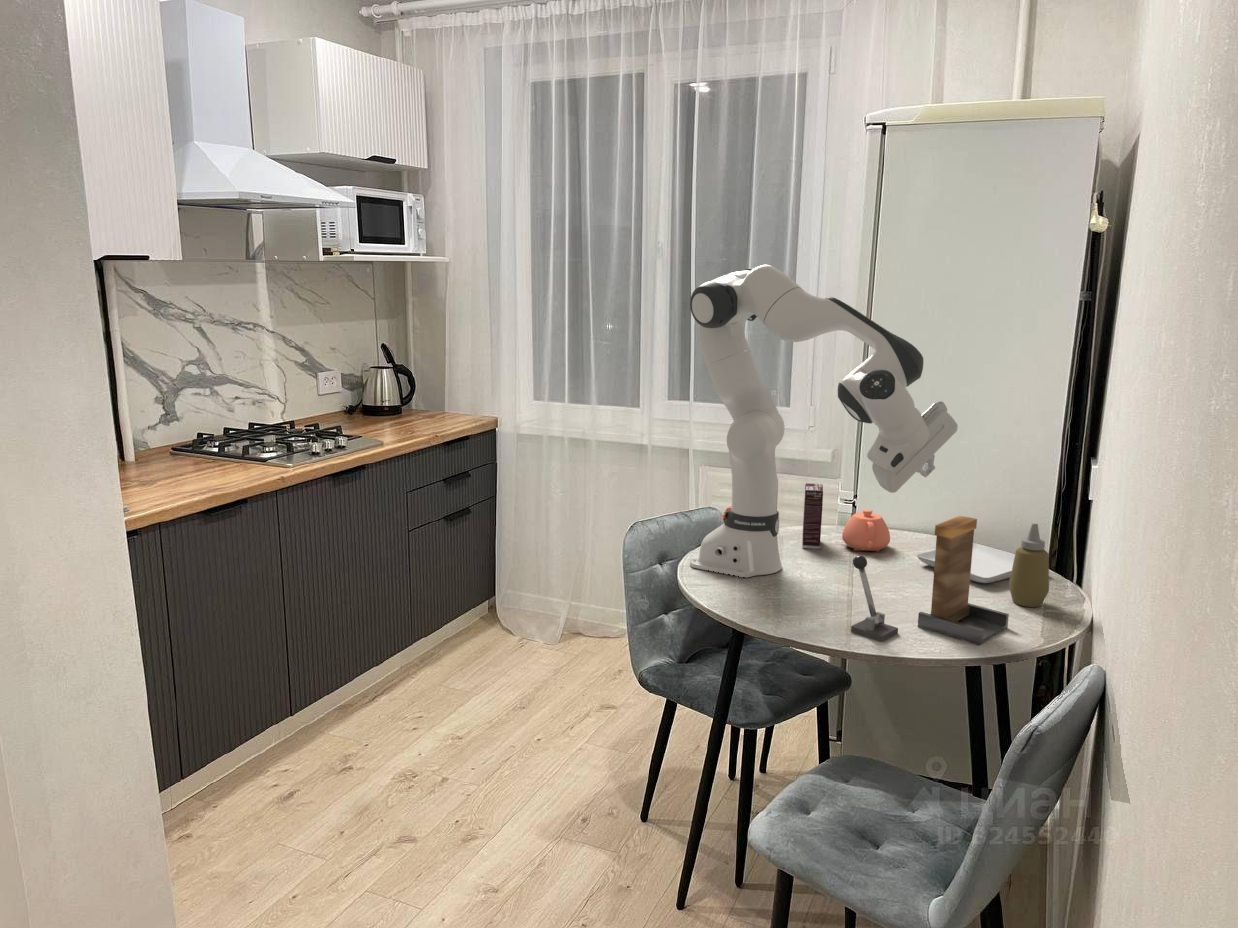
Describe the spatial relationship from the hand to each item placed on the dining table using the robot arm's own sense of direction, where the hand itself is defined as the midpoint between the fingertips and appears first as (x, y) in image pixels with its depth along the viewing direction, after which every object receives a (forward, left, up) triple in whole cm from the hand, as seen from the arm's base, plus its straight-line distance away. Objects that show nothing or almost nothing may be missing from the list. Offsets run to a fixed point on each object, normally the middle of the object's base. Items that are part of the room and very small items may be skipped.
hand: (928, 471), depth 190 cm
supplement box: (-30, +33, -29) cm, 54 cm away
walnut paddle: (+7, -11, -28) cm, 31 cm away
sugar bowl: (-16, +35, -30) cm, 49 cm away
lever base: (-7, -22, -29) cm, 37 cm away
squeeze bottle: (+22, +7, -29) cm, 37 cm away
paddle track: (+9, -12, -29) cm, 33 cm away
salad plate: (+12, +28, -30) cm, 42 cm away
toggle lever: (-7, -22, -27) cm, 35 cm away
